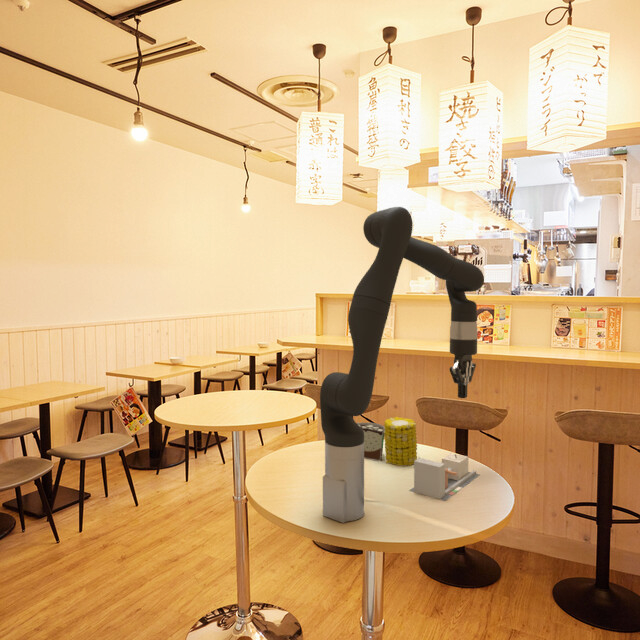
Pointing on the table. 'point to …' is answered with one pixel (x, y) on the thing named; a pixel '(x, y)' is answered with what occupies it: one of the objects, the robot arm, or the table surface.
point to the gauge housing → (456, 465)
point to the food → (400, 441)
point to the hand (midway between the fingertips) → (462, 397)
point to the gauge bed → (437, 480)
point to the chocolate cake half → (373, 440)
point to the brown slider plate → (447, 476)
